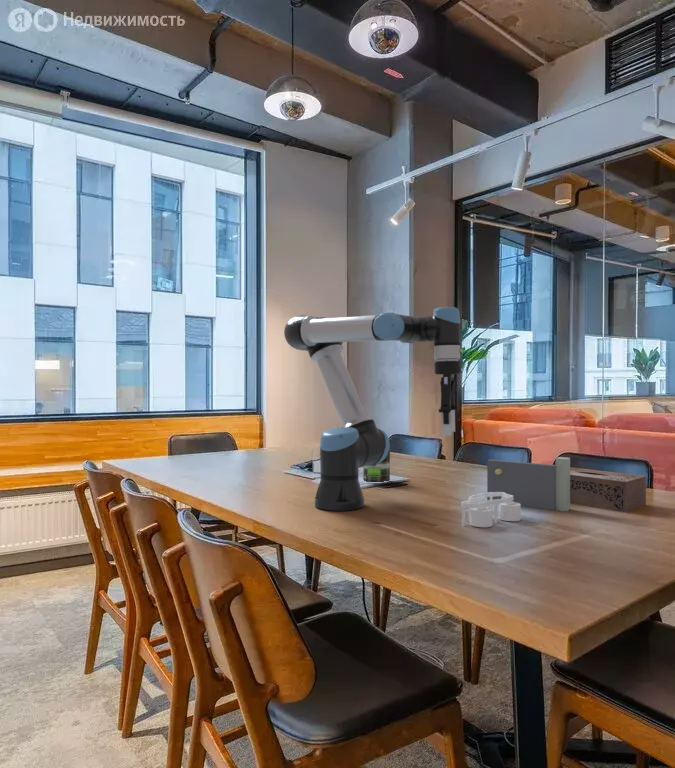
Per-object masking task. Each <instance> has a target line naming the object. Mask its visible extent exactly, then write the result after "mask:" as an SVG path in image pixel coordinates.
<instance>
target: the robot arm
mask: <svg viewBox="0 0 675 768" xmlns="http://www.w3.org/2000/svg"><path fill="white" fill-rule="evenodd" d="M460 317H461V316H460V310H459V308H457V307H455V306H440V307H435V308H434V310H433V314H432V315H429V316H411V315H405V314H399V313H394V312H383V313H380V314H370V315H369V314H368V315H357V316H341V317H338V316H337V317H324V316H323V317H321V316H320V317H317V316H312V315H305V314H304V315H302V314H301V315H295V316H293V317H291V318H290V319H289V320H288V321H287V323H286V324H285V326H284V330H283V334H284V339H285V342H286V343H287V344H288V345H289V346H290V347H291V348H293V349H295V350H298V351H307V352H308V355H309V357H310V358H309V359H310V360H311V362H313V363H316V364H317V365H318V369H319V370H320V373H321V376H322V378H323V380H324V384H325V385H326V387H327V390H328V393H329V395H330V398H331V400H332V402H333V405H334V407H335V410H336V413H337V415H338V417H339V420H340V421H341V424H342V427H334V428H329V429H327V430H324V431H323V432H322V433H321V434H320V442H319V459H320V461H319V462H320V463H319V464H320V465H319V467H320V481H319V484H318V487H317V489H316V494H315V497H314V506H315V508H316V509H320V510H325V511H332V512H333V511H337V512H339V511H342V512H343V511H353V510H355V511H356V510H359V509H362V508H364V506H365V497H364V495H363V491H362V487H361V484H360V481H359V468H363V467H365V466H373V465H375V464H377V463H380V462H382V461H383V460H384V459H385V458H386V456H387V454H388V451H389V447H390V448H391V445H390V439H389V436H388V435H387V433H386V432H385V431H384V430H383V429H381V428H379V427H377V424H376V423H375V420H374V418H371V417H369V416H367V413H366V410H365V408H364V406H363V403H362V402H361V399H360V396H359V393H358V392H357V389H356V387H355V384H354V382H353V379H352V376H351V375H350V372H349V369H348V367H347V365H346V363H345V360H344V358H343V356H342V351H343V349H344V346H343V343H347V342H348V343H352V342H374V341H376V342H377V341H380V342H381V341H383V342H384V341H385V342H387V341H399V342H400V343H402V344H415V343H425V342H426V343H427V342H433V359H434V360H435V362H434V374H435V375H442V377H441V378H440V394H441V395H440V408H438V413H441V414H440V416H441V417H440V418H441V419H440V420H441V436H442V437H452V436H453V435H452V434H453V433H455V432H456V411H457V410H458V406H456V401H455V399H456V398H455V392H456V388H455V387H456V380H455V377H454V376H453V375H460V374H461V373H462V371H461V370H462V368H461V367H462V363H461V361H460V360H461V353H463V352H464V351H463V349H462V348H461V319H460Z"/></svg>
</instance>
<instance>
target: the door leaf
mask: <svg viewBox="0 0 675 768" xmlns="http://www.w3.org/2000/svg"><path fill="white" fill-rule="evenodd" d="M486 463H487V465H486V466H487V469H486V470H487V475H486V478H487V481H486V482H487V483H486V487H487V488H486V489H487V491H486V493H488V492H505V493H506V494H509V495H513V500H512V501H514V502H517V503H520V504H521V507H524V508H532V509H540V510H549V511H557V510H560V511H559V512H564V511H567V512H568V511H570V510H571V503H570V467H571V457H565V456H559V457H557V458H555V464H549V463H548V464H546V463H536V462H523V461H511V460H499V459H488V460H487V461H486ZM486 499H487V500H486V501H488V500H490V497H486ZM496 499H501V496H496V497H493V500H496ZM569 509H570V510H569Z"/></svg>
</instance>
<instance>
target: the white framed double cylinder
mask: <svg viewBox="0 0 675 768" xmlns="http://www.w3.org/2000/svg"><path fill="white" fill-rule="evenodd" d="M496 496H501V499H496V500H493V497H496ZM487 497H490V500H488V501H487V500H486V498H487ZM467 499H468V500H467ZM467 499H466V500H464V501H461V504H460V507H461V526H462V527H466V509H468V510H467V511H468V512H467V513H468V515H467V517H468V519H467V521H468V522H469V524H470V526H472V527H477V528H490V527H492V526H493V523H498V519H499V520H501V521H506V522H519V521H521V517H522V511H521V509H522V506H521V504H520V503H517V502H514V501H512V500H513V495H509V494H506V493H505V492H488V493H487V492H482V493H475V494H472V495H470V496H469V497H468V498H467ZM488 506H489V507H488Z"/></svg>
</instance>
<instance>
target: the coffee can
mask: <svg viewBox="0 0 675 768" xmlns="http://www.w3.org/2000/svg"><path fill="white" fill-rule="evenodd" d="M362 470H363V471H362V473H363V475H362V479H363V480H364V481H366V482H384V481H389V480H390V481H391V478H390V477H391V446H390V447H389V451H388V454H387V456H386V458H385V459H384V460H383V461H382V462H380V463H377V464H375V465H373V466H365V467H362ZM363 480H362V481H363Z"/></svg>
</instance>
